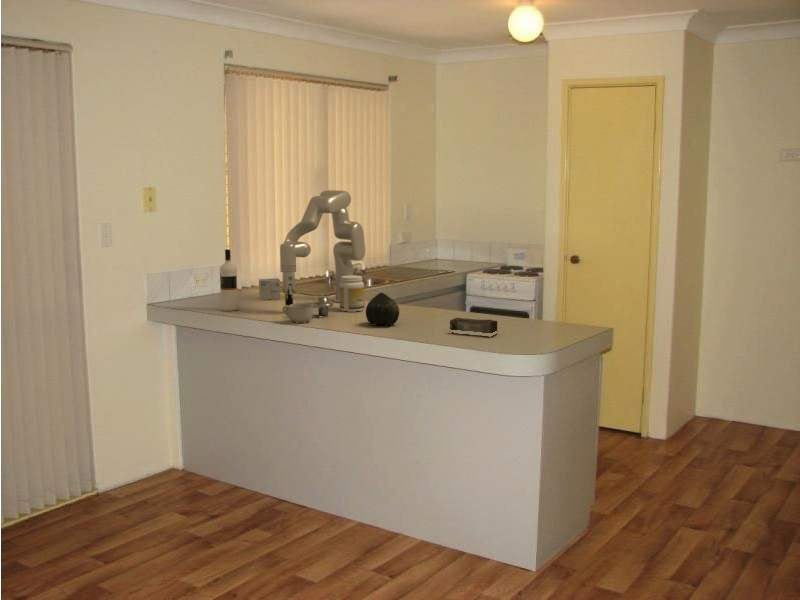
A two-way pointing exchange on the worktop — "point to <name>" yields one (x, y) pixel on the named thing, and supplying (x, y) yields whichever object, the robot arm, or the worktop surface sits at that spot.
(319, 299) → the grey knob latch
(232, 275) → the vodka
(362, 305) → the supplement tub
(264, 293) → the light bulb box
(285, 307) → the wedge pin
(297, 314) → the teacup
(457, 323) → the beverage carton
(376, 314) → the squash
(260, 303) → the worktop surface
